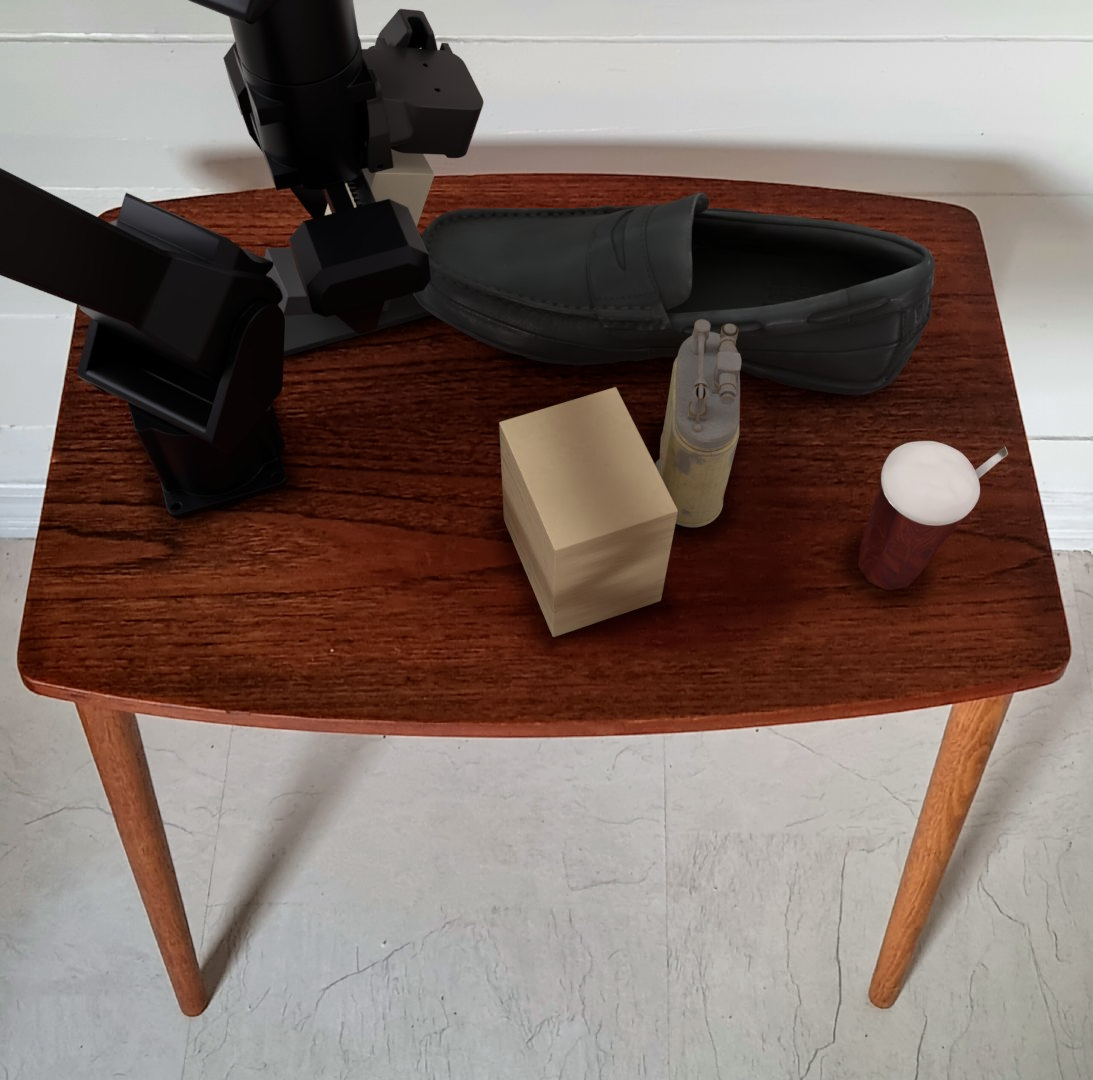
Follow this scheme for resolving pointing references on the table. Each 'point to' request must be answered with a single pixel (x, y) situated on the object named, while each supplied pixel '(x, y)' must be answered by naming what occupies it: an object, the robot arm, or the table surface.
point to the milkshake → (917, 509)
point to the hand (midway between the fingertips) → (344, 272)
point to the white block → (397, 184)
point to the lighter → (701, 423)
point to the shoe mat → (343, 325)
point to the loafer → (684, 288)
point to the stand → (586, 510)
